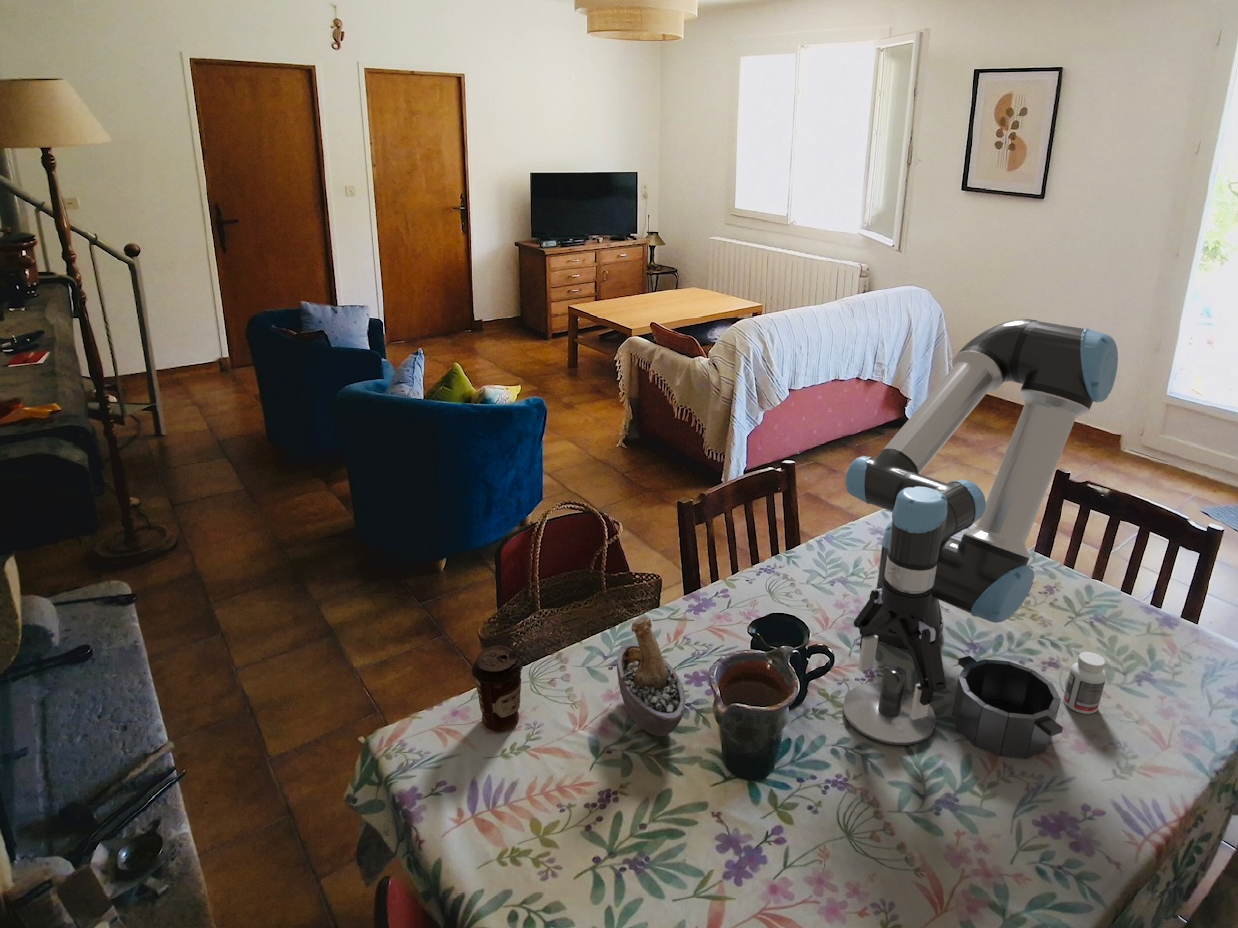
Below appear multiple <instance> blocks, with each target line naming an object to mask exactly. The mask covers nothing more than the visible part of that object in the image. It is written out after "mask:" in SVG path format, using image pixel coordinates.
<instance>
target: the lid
mask: <svg viewBox="0 0 1238 928" xmlns="http://www.w3.org/2000/svg"><path fill="white" fill-rule="evenodd" d="M906 677H907V672H906V670H905V669H904V668H903V667H901V666H898V665H892V664H891V665H887V666H885V667H884V668H883V672H882V677H881V678H882V679H881V682H869V683H863V684H859V685H857V686H855V687H853V688H852V689H850V690H849V691H848V692H847V693H846V694H845V696H844V698H843V699H844V700H843V707H842V708H843V714H844V716H845V718H846V720H847V722H848V723H849V724H850V725H851V726H852V727H853V728H854V729H855V730H856V731H858V732H859V733H860V734H862V735H864V736H865V737H867V738H869V739H871V740H874V741H876V742H879V743H883V744H888V745H894V746H908V745H914V744H919V743H920V742H923V741H925V740H927V739H928V738H929V737H930V736H931V735H932V734H933V732H934V730H935V725H936V715H935V712H934V709H933V708H932V706H931V705H930V704H929V707H928V712H927V716H925V717H922V718H919V719H915V720H913V719H912V718H911V717H910V715H911V710H912V704H913V698H914V692H915V691H912V690H910V689H908V688H906V687H905V684H906V680H907V679H906Z"/></svg>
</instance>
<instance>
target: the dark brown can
mask: <svg viewBox="0 0 1238 928" xmlns="http://www.w3.org/2000/svg"><path fill="white" fill-rule="evenodd" d="M520 657H521V654H520V653H518V652H517V651H516V650H515V649H512V648H510V647H508V646H506V645H505V646H504V645H501V644H500V645H493V646H490V647H487V648H485V649H483V650H482V651H480V653H479V654H478V655H477V657H476V660H475V661H474V663H473V665H472V668H471V675H472V677H474V680H475V683H476V691H477V696H478V702H479V703H478V704H479V708H480V711H481V713H482V714H481V722H482V724H483V727H484V728H485V729H486V730H488V731H489V732H492V733H496V734H497V733H505V732H508V731H510V730H512V729H513V728H515V727H516V726H517V725H518V723H519V721H520V714H519V709H520V707H521V705H520V704H521V692H522V678H521V677H522V670H523V669H524V667H523V666H522V664H523V663H522V662H521V660H520Z"/></svg>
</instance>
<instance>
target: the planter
mask: <svg viewBox="0 0 1238 928" xmlns="http://www.w3.org/2000/svg"><path fill="white" fill-rule="evenodd" d="M652 625H653V624H652V621H651V619H650V618H648V617H646V616H645V617H644V616H642V617H639V618H636V619H635V620H634V621H633V622H632V624H631V631H632V632H634V635H635V637H636V640H637V642H638V643H637V642H632V641H628V642H625V643H622V644H621V647H620V649H619V650H618V654H617V658H616V671H617V679H618V685H619V692H620V694H621V698H622V700H623V703H624V706H625V708H626V710H627V713H628V715H629V716H630V718H631V719H632V720H633V721H634V722H635V724H636V725H637V726H638V727H640V729H642V730H643V731H645V732H647V733H648V734H651V735H652V736H655V737H665V736H667V735H669V734H671V733H672V732H674V731H675V730H676V729H677V728H678V726H679V724H680V723H681V720H682V719H683V716H684V713H685V710H686V709H685V708H686V703H687V701H686V694H685V689H684V687H683V684H682V682H681V679H680V678H679V675H678V673H677V672H676V671H675V669H674V668H673V667H672V665H671V664H670V663H669V662H668V661H667V660H666V659H664V658H663V655H662V652H661V649H660V646H659V643H658V642H657V639H656V637H655V634H654V632H653V630H652Z"/></svg>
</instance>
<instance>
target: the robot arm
mask: <svg viewBox="0 0 1238 928" xmlns="http://www.w3.org/2000/svg"><path fill="white" fill-rule="evenodd" d="M951 365H952V366H951V367H952V368H951V369H950V371H949V372H948V373H947V374H946V375H945V376H944V377H943V379H942V380H941V381H940V382H939V383H938V384H937V386H936V387H935V388H934V389H933V390H932V391H931V393H930V394H929V395H928V396H927V398H925V400H924V401H923V402H922V403H921V404H920V406H918V408H917V409H916V410H915V411H914V413H913V414H912V415H910V417H909V419H908V420H907V421H906V422H905V423H904V424H903V426H902V427H900V429H899V430H898V432H896V434H895V435H893V438H891V440H889V442H888V443H887V445H886V446H884V447H883V449H882V450H881V451H880V452H879V453H878V454H877V456H876V457H875V458H874V457H872V456H865V455H861V456H859V457H857V458H855V459H854V460H853V461H852V462H851V463H850V465H849V467H848V468H847V470H846V475H845V479H844V480H845V481H844V483H845V487H846V492H847V493H848V494H849V495H850V496H852V497H853V498H856V499H857V500H859V501H861V502H864V503H866V504H867V505H872V506H875V507H878V508H882V509H883V510H886V511H889V512H891V513H892V514H891V519H892V520H891V522H889V524H887V526H886V527H885V530H884V534H883V537H882V541H881V544H880V545H881V551H880V558H879V567H878V575H877V581H876V582H877V583H876V587H875V589H872V590H871V591H870V595H869V599H868V600H867V602H866V604H865V605H864V606H863V607H862V609H861V610H860V612H859V614H858V615H857V616H856V618H855V619H854V620H853V626H854V627H855V628H858V630H859V634H860V643H859V649H860V654H859V655H860V656H859V659H858V660H859V662H858V667H857V669H858V671H860V672H863V671H864V672H865V671H868V670H872V669H874V668H875V661H876V655H877V654H876V653H877V647H878V641H881V642H883V643H886V644H888V645H891V646H894V647H899V648H904V649H905V648H906V649H908V652H909V655H910V658H911V662H912V664H913V667H914V670H915V672H916V676H917V679H918V682H919V683H915V688H914V691H913V692H914V698H913V704H912V710H911V715H910V717H911V718H912V719H913V720H915V719H919V718H922V717H925V716H927V712H928V707H929V705H930V704H932V703H933V699H934V694H935V692H939V691H943V690H945V689H947V681H946V680H947V679H946V675H945V668H944V665H943V659H942V652H941V647H940V640H941V638H942V636H943V631H944V619H943V617H942V615H943V614H942V609H941V605H940V602H941V601H942V602H944V603H946V604H948V605H951V606H953V607H955V608H957V609H959V610H962V611H964V612H966V613H968V614H971V616H973V617H977V618H980V619H982V620H986V621H988V622H991V623H995V624H996V623H1002V622H1005V621H1006V620H1008V619H1010V618H1011V617H1012V616H1013V615H1014V614H1015V613H1016V612H1017V611H1018V610H1019V609H1020V608H1021V607H1022V605H1023V603H1024V602H1025V600H1026V599H1027V598H1028V595H1029V593H1030V591H1031V590H1032V588H1033V583H1034V579H1035V572H1034V569H1033V568H1032V567H1031V566H1029V565H1028V563H1029V560H1030V557H1031V555H1030V553H1029V551H1028V549H1027V547H1026V542H1027V539H1028V537H1029V535H1030V532H1031V530H1032V528H1033V525H1034V523H1035V520H1036V517H1037V516H1038V513H1039V510H1040V507H1041V505H1042V503H1043V501H1044V498H1045V495H1046V494H1047V491H1048V488H1049V486H1050V483H1051V480H1052V478H1053V476H1054V473H1055V471H1056V468H1057V465H1058V463H1059V461H1060V458H1061V456H1062V453H1063V452H1064V449H1065V446H1066V444H1067V441H1068V438H1069V436H1070V434H1071V432H1072V428H1073V426H1074V423H1075V421H1076V419H1078V418H1079V417H1081V416H1083V415H1086V414H1088V413H1089V412H1090V409H1092V408H1091V407H1092V405H1093V402H1094V403H1102V402H1104V401H1105V400H1107V399H1108V397H1109V395H1110V394H1111V393H1112V390H1113V388H1114V385H1115V381H1116V378H1117V372H1118V371H1117V370H1118V365H1119V353H1118V346H1117V343H1116V341H1115V340H1114V338H1113V337H1112V336H1111V335H1109V334H1107V333H1104V332H1103V333H1102V332H1099V331H1095V330H1092V329H1089V328H1083V327H1076V326H1069V325H1064V324H1057V323H1051V322H1045V321H1040V320H1036V319H1031V318H1030V319H1029V318H1021V319H1019V318H1018V319H1014V320H1008V321H1006V322H1005V321H1004V322H1002V323H999V324H997V325H995V326H992V327H990V328H988V329H987V330H984V331H983V332H981V333H979V334H978V335H977V336H975V337H974V338H972V339H971V340H970V341H969V342H967V343H966V344H965V345H964V346H963V347H962V348H961V349H960V350H959V352H957V354H955V356H954V357H953V359H952V363H951ZM1007 382H1012V383H1015V384H1016V383H1017V384H1021V387H1020V388H1021V389H1020V391H1019V393H1020V395H1021V397H1022V399H1023V402H1024V406H1023V408H1022V410H1021V412H1020V416H1019V417H1018V420H1017V423H1016V425H1015V428H1014V430H1013V432H1012V435H1011V437H1010V441H1009V443H1008V446H1007V448H1006V449H1005V450H1006V451H1005V452H1004V453H1005V454H1004V455H1003V458H1002V461H1001V462H1000V465H999V468H998V471H997V473H996V475H995V478H994V480H993V483H992V485H991V488H990V491H989V492H988V495H987V498H986V497H985V495H984V492H983V491H982V490H981V487H979V486H978V485H977V484H976V483H974V482H972V481H970V480H967V479H956V480H953V481H948V482H943V481H940V480H938V479H934V478H932V477H930V476H929V477H928V476H925V475H922V474H921V473H922V472H923V471H924V469H926V467H927V466H928V464H929V463H930V462H931V461H932V460H933V458H934V457H936V455H937V454H938V453H939V451H941V449H942V448H943V447H944V445H945V444H946V443H947V442H948V441H949V439H950V438H951V437H952V435H954V433H955V432H956V431H957V430H958V429H959V427H960V426H961V425H962V424H963V422H964V421H965V420H966V419H967V418H968V416H969V415H970V414H971V412H972V411H973V410H974V409H975V408H976V407H977V406H978V404H979V403H980V402H981V400H983V398H984V397H985V396H986V395H987V393H992V392H994V391H996V390H997V389H999V388H1000V387H1001V386H1002V384H1003V383H1007ZM976 522H977V523H976ZM974 523H976V525H975V526H974V527H973V528H970V527H972V526H973V525H974ZM969 528H970V529H969ZM968 529H969V530H968ZM964 530H966V531H964ZM962 531H964V533H963V535H962V537H961V539H960V540H959V539H956V538H953V537H954V536H955V535H956V534H959V533H960V532H962Z"/></svg>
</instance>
